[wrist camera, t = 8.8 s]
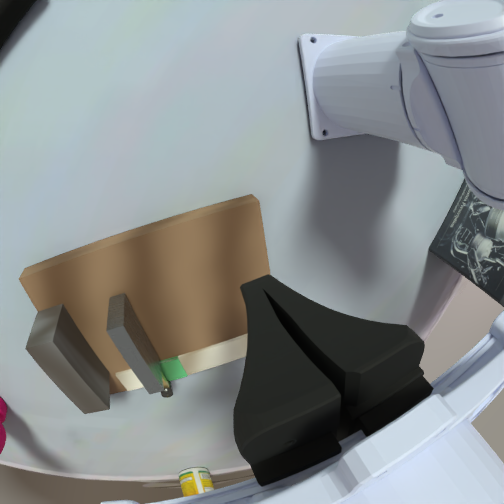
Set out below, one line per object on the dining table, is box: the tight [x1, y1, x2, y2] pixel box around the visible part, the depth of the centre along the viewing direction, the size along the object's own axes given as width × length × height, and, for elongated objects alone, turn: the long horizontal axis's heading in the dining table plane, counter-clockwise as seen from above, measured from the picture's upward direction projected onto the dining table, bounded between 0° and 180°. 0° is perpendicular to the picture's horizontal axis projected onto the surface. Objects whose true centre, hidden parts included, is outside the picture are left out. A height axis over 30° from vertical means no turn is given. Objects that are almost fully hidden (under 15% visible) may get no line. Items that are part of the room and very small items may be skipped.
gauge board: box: [19, 194, 270, 414], centre depth 20 cm, size 18×14×6 cm
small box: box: [429, 180, 504, 307], centre depth 26 cm, size 13×7×12 cm, turn 152°
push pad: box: [106, 293, 173, 397], centre depth 20 cm, size 1×10×4 cm, turn 10°
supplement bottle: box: [179, 467, 214, 497], centre depth 36 cm, size 5×5×10 cm
